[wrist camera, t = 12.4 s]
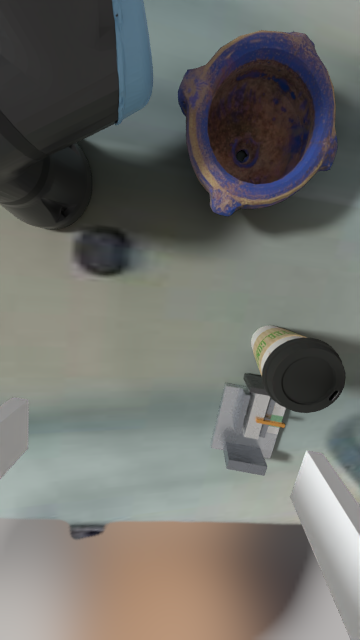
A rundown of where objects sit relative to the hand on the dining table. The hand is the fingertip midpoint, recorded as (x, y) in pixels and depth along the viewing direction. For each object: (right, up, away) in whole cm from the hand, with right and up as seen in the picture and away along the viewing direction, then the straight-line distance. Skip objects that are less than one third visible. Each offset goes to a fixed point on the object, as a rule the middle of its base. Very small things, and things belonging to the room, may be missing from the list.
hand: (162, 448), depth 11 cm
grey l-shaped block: (+14, -14, +35) cm, 40 cm away
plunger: (+16, -10, +33) cm, 38 cm away
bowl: (+11, +31, +25) cm, 42 cm away
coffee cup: (+17, +2, +31) cm, 36 cm away
